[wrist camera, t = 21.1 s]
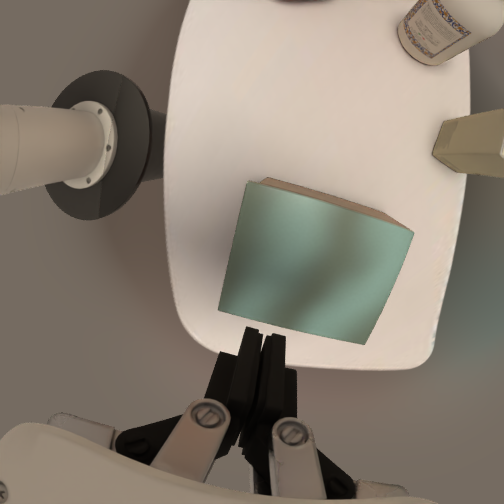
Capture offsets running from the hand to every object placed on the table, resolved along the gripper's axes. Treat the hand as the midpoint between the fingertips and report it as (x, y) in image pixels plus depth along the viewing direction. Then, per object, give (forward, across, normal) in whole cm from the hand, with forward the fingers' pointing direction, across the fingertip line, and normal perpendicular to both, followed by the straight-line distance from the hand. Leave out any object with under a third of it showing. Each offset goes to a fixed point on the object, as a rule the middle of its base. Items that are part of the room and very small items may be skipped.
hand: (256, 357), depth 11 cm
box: (+21, -17, -16) cm, 32 cm away
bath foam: (+21, -11, -28) cm, 37 cm away
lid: (+13, -4, 0) cm, 14 cm away
